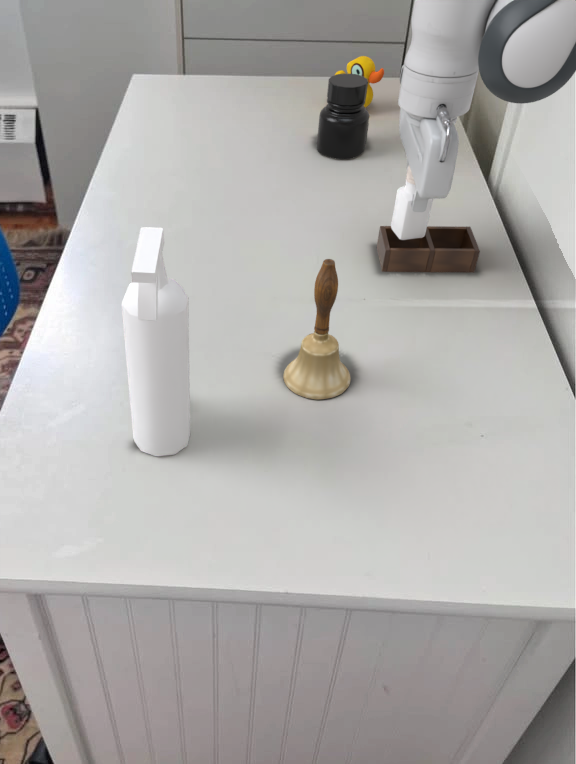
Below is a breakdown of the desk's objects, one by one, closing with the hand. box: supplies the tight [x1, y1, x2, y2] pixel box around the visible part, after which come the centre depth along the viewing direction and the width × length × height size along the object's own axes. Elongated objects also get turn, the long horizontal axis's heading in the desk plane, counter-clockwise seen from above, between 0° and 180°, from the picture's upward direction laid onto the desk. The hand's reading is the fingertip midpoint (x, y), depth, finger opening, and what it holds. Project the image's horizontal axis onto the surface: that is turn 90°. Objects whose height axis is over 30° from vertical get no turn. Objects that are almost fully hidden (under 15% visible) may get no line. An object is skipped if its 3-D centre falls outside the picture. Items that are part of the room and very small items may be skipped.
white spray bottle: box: [121, 226, 191, 457], centre depth 74 cm, size 7×12×25 cm, turn 175°
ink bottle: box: [316, 73, 370, 160], centre depth 129 cm, size 10×9×12 cm
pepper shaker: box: [390, 166, 434, 240], centre depth 99 cm, size 4×4×10 cm
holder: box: [376, 225, 481, 274], centre depth 104 cm, size 13×7×5 cm, turn 88°
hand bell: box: [282, 258, 351, 400], centre depth 83 cm, size 8×8×16 cm
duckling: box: [334, 55, 385, 109], centre depth 142 cm, size 11×5×10 cm, turn 46°
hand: (414, 199), depth 98 cm, fingers closed on pepper shaker, 4 cm apart
